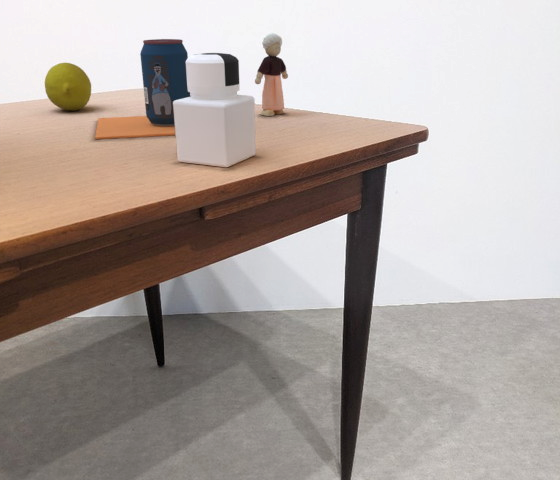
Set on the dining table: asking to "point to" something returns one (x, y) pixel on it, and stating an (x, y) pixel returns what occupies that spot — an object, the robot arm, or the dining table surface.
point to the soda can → (163, 78)
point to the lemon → (68, 86)
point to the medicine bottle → (214, 113)
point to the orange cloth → (129, 128)
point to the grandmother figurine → (272, 76)
